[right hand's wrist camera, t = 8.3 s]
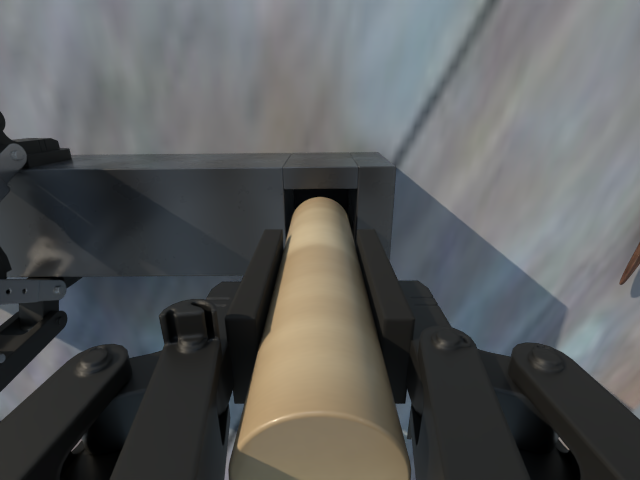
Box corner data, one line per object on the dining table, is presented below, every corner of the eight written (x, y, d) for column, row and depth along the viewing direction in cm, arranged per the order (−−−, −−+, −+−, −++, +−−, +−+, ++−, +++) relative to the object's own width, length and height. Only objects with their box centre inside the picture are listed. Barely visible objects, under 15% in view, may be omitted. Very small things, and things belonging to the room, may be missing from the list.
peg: (347, 251, 20) (403, 539, 6) (292, 251, 20) (235, 539, 6) (349, 196, 18) (422, 413, 5) (290, 196, 18) (217, 413, 5)
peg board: (378, 152, 24) (396, 166, 18) (374, 238, 26) (388, 274, 20) (33, 155, 24) (-56, 170, 18) (59, 241, 26) (-12, 277, 20)
